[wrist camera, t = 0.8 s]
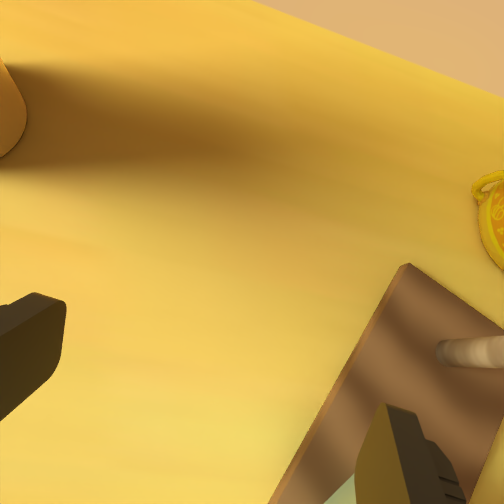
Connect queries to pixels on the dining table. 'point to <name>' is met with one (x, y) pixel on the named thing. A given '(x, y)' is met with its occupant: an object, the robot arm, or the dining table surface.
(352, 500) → the pencil cup
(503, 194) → the mug
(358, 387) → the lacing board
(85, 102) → the dining table surface
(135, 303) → the dining table surface
